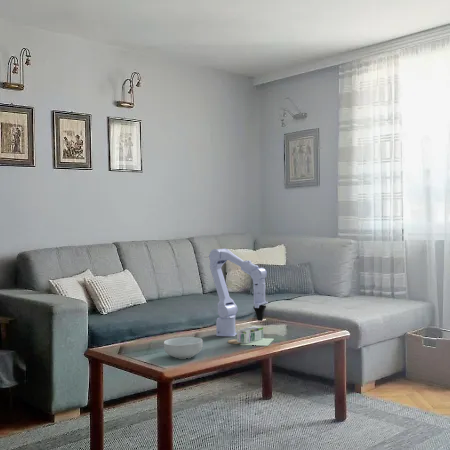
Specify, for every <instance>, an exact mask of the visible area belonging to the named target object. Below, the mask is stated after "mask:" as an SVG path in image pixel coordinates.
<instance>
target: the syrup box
mask: <svg viewBox="0 0 450 450" xmlns="http://www.w3.org/2000/svg"><path fill="white" fill-rule="evenodd" d="M236 333H237V335H236V339H237V342H240V343H250V342H253V341H256V340H260V339H263V338H264V327H262V326H256V325H255V326H254V325H253V326H250V327H245V328H241V329H236Z"/></svg>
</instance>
